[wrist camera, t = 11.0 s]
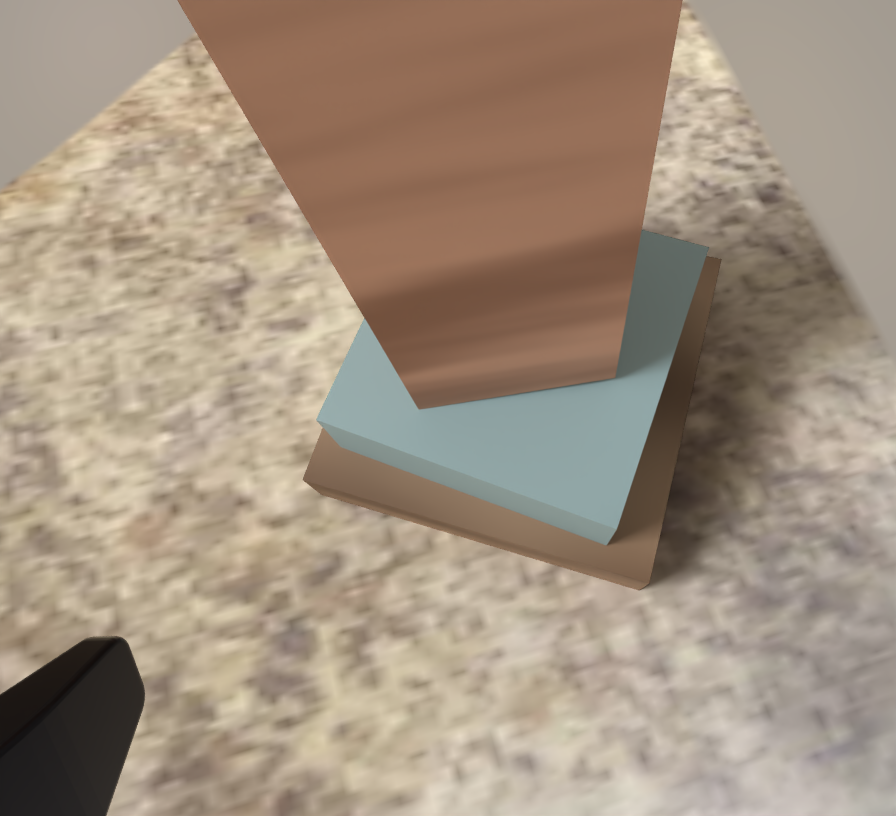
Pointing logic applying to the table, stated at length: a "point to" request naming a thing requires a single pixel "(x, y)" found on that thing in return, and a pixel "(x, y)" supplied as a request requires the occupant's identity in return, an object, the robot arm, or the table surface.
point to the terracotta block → (463, 169)
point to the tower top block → (532, 413)
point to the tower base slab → (521, 534)
